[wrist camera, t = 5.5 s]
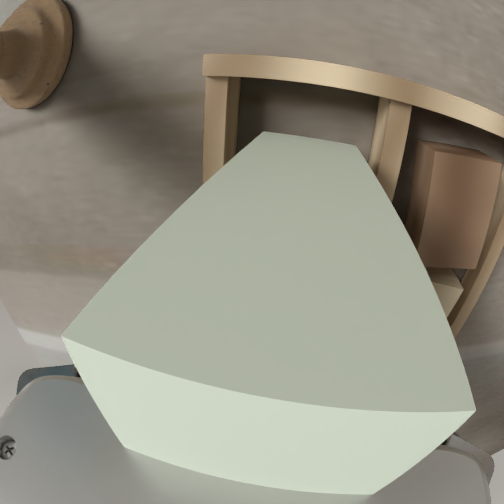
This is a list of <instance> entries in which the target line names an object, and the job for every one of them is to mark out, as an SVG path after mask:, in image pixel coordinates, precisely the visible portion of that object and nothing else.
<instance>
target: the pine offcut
mask: <svg viewBox="0 0 504 504" xmlns="http://www.w3.org/2000/svg"><path fill="white" fill-rule="evenodd" d="M425 269H426V271H427V273H428V276H429V278H430V280H431V282H432V285H433V287H434V289H435V291H436V294H437V296H438V298H439V301H440V303H441V306H442V308H443V311H444V313H445V316H446V318H447V317H448V315H449V313H450V312H451V310H452V309H453V307H454V305H455V304H456V302H457V300H458V299H459V297H460V295H461V293H462V292H463V290H464V289H463V287H462V286H461V284H460V282H459V280H458V278H457V276H456V274H455V273H454V271H453V269H452V268H440V267H425Z"/></svg>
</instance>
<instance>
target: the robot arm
mask: <svg viewBox="0 0 504 504" xmlns="http://www.w3.org/2000/svg"><path fill="white" fill-rule="evenodd" d="M493 471H494V461H493V459H492V457H491V456H490V455H489V454H488V453H487V452H485V451H483V450H481V449H479V448H477V447H476V446H474V445H472V444H470V443H468V442H466V441H465V440H463V439H461V438H459V437H457V436H456V435H454V434H451V435H450V436H449V437H448V438H447V439H446V440H445V441H444V442H443V443H441V444H440V445H439V446H438V447H437V448H436V449H434V450H433V451H432V452H431V453H430V454H428V455H427V456H426V457H425V458H423V459H422V460H421V461H420V462H418V463H417V464H416V465H414V466H413V467H412V468H410V469H409V470H408V471H406V472H405V473H404V474H402V475H401V476H399V477H398V478H397V479H395V480H394V481H392V482H391V483H389V484H388V485H386V486H385V487H383V488H382V489H380V490H379V491H377V492H376V493H374V494H330V493H315V492H304V491H294V490H286V489H279V488H272V487H266V486H260V485H254V484H248V483H243V482H238V481H234V480H229V479H224V478H220V477H216V476H212V475H208V474H204V473H200V472H197V471H193V470H189V469H186V468H183V467H179V466H176V465H173V464H170V463H167V462H164V461H161V460H158V459H155V458H152V457H149V456H147V455H144V454H141V453H139V452H136V451H133V450H131V449H128V448H126V447H124V446H123V445H122V444H121V442H120V441H119V439H118V438H117V436H116V435H115V433H114V432H113V430H112V429H111V427H110V426H109V424H108V423H107V421H106V419H105V418H104V416H103V415H102V413H101V411H100V410H99V408H98V406H97V405H96V403H95V401H94V400H93V398H92V396H91V394H90V393H89V391H88V389H87V387H86V385H85V384H84V382H83V380H82V378H81V376H80V374H79V372H78V370H77V368H76V367H75V366H74V364H73V365H64V366H54V367H44V368H33V369H29V370H26V371H25V372H23V373H22V375H21V376H20V378H19V381H18V386H17V396H16V397H15V398H14V400H13V401H12V402H11V403H10V405H9V406H8V407H7V409H6V410H5V412H4V413H3V415H2V416H1V418H0V504H491V497H490V490H489V483H490V480H491V477H492V474H493Z"/></svg>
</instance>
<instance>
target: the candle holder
mask: <svg viewBox="0 0 504 504" xmlns="http://www.w3.org/2000/svg"><path fill="white" fill-rule="evenodd" d="M72 38H73V27H72V20H71V16H70V13H69V11H68V9H67V7H66V5H65V4H64V3H63V2H62V1H61V0H27V1H25V2H24V3H23V4H21V5H20V6H19V7H18V8H17V9H16V10H15V11H14V12H13V14H12V15H11V16H10V17H9V18H8V19H7V20H6V21H5V22H4V24H3V25H2V27H1V28H0V96H1V97H2V99H3V100H4V101H5V102H6V103H7V104H8V105H9V106H10V107H12V108H15V109H27V108H31V107H33V106H36V105H38V104H40V103H41V102H43V101H44V100H45V99H46V98H47V97H48V96H50V94H51V93H52V92H53V91H54V89H55V88H56V87H57V85H58V83H59V82H60V80H61V78H62V76H63V74H64V72H65V69H66V66H67V64H68V60H69V56H70V52H71V47H72Z"/></svg>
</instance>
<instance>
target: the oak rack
mask: <svg viewBox="0 0 504 504" xmlns="http://www.w3.org/2000/svg"><path fill="white" fill-rule="evenodd" d="M202 76H206V87H205V109H204V137H203V184H204V183H205V182H207V181H208V180H209V179H210V178H211V177H212V176H213V175H214V174H215V173H216V172H217V171H219V170H220V169H221V168H222V167H223V166H224V165H225V164H226V163H227V162H229V161H230V160H231V159H232V158H233V157H234V156H235V155H236V145H237V129H238V113H239V98H240V84H241V77H247V78H262V79H273V80H284V81H293V82H301V83H308V84H315V85H322V86H328V87H334V88H340V89H346V90H351V91H356V92H361V93H365V94H370V95H375V96H379V103H378V110H377V116H376V122H375V129H374V135H373V140H372V146H371V151H370V157H369V162H368V165H369V166H370V168H371V170H372V171H373V173H374V175H375V176H376V178H377V179H378V181H379V183H380V184H381V186H382V188H383V189H384V191H385V193H386V195H387V196H388V198H389V200H390V201H391V203H392V200H393V196H394V192H395V188H396V184H397V180H398V176H399V171H400V167H401V162H402V158H403V153H404V148H405V143H406V138H407V133H408V127H409V121H410V116H411V109H412V105H414V106H417V107H421V108H424V109H427V110H430V111H434V112H437V113H440V114H443V115H446V116H449V117H452V118H455V119H457V120H460V121H463V122H466V123H468V124H471V125H473V126H476V127H479V128H481V129H484V130H486V131H488V132H491V133H493V134H496V135H498V136H500V137H502V138H504V116H502V115H500V114H498V113H495V112H493V111H491V110H489V109H486V108H484V107H482V106H479V105H477V104H475V103H472V102H470V101H467V100H465V99H462V98H459V97H457V96H454V95H451V94H449V93H446V92H443V91H440V90H437V89H434V88H431V87H428V86H425V85H422V84H418V83H415V82H412V81H408V80H405V79H401V78H397V77H393V76H390V75H386V74H382V73H377V72H373V71H369V70H364V69H359V68H354V67H349V66H344V65H338V64H332V63H326V62H319V61H312V60H305V59H296V58H287V57H276V56H262V55H242V54H204V55H203V72H202ZM503 246H504V165H503V169H502V172H501V176H500V179H499V184H498V189H497V194H496V199H495V203H494V207H493V211H492V216H491V219H490V223H489V227H488V231H487V234H486V238H485V241H484V244H483V248H482V251H481V254H480V257H479V260H478V263H477V266H476V269H467V270H466V272H465V274H464V276H463V278H462V281H461V283H460V284H461V286H462V287H463V289H464V290H463V292H462V293H461V295H460V297H459V299H458V300H457V302H456V304H455V305H454V307H453V309H452V310H451V312H450V313H449V315H448V317H447V321H448V323H449V326H450V328H451V331H452V334H453V337H454V339H455V338H456V337H457V335H458V333H459V332H460V330H461V328H462V327H463V325H464V323H465V322H466V320H467V318H468V317H469V315H470V313H471V311H472V310H473V308H474V306H475V304H476V302H477V300H478V299H479V297H480V295H481V293H482V291H483V289H484V287H485V285H486V283H487V281H488V279H489V277H490V275H491V273H492V271H493V269H494V266H495V264H496V262H497V260H498V258H499V255H500V253H501V251H502V248H503Z"/></svg>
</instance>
